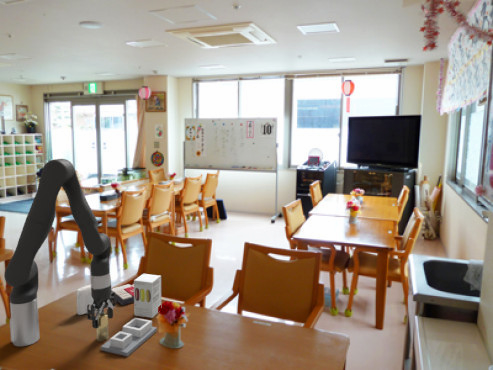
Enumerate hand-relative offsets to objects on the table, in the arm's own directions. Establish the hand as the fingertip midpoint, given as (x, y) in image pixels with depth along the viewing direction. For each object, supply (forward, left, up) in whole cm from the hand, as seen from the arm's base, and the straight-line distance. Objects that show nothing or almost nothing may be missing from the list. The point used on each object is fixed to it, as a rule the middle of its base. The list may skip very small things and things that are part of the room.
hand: (103, 322), depth 155 cm
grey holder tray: (+11, +3, -7) cm, 13 cm away
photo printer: (-22, +17, -7) cm, 29 cm away
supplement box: (+4, +26, -7) cm, 27 cm away
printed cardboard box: (-16, +36, -7) cm, 40 cm away
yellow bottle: (0, 0, -7) cm, 7 cm away
